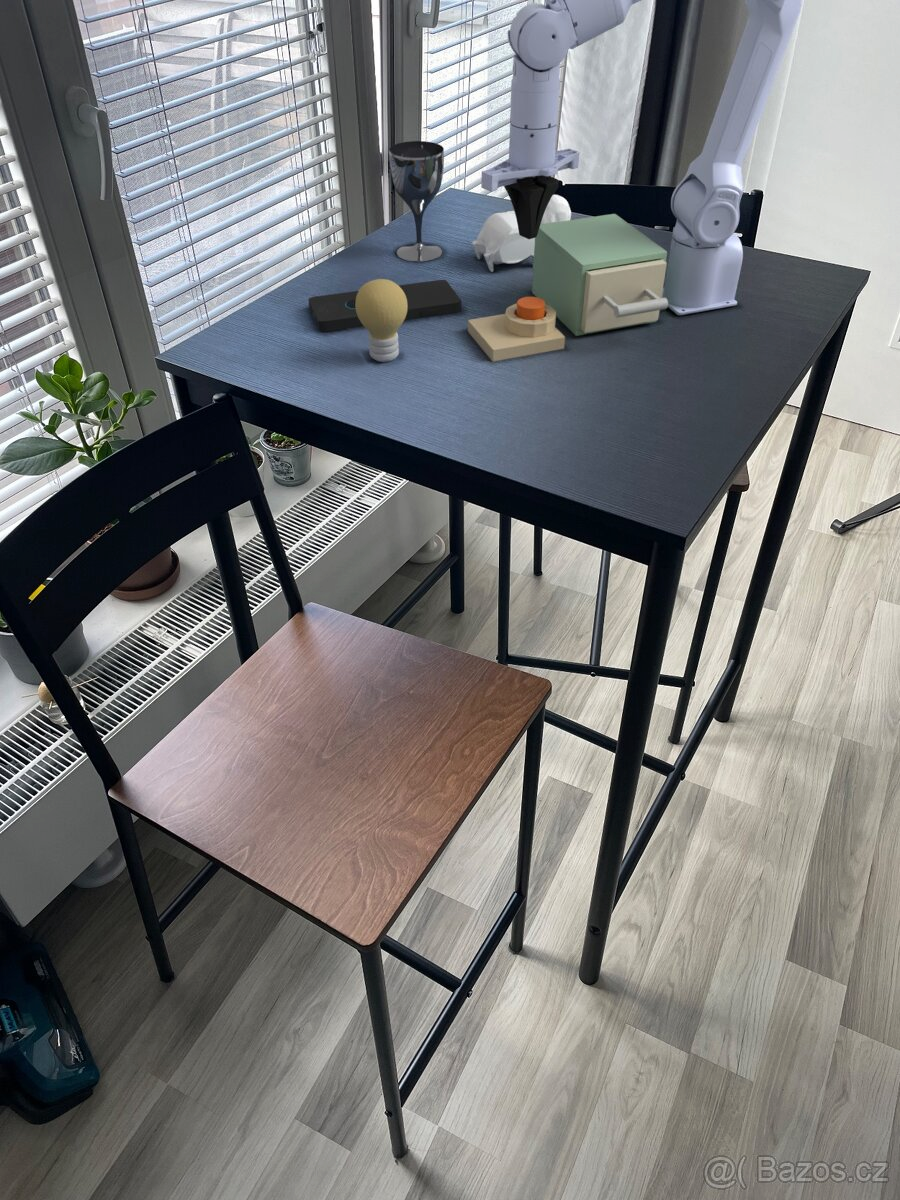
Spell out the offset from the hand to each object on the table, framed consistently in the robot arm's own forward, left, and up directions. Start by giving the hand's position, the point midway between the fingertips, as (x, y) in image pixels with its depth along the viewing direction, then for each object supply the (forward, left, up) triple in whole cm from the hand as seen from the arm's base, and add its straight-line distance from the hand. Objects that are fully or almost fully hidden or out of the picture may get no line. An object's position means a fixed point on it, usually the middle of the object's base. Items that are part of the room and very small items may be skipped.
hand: (527, 236), depth 120 cm
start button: (+2, +7, -7) cm, 11 cm away
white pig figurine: (-7, -17, -11) cm, 21 cm away
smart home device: (+18, -7, -11) cm, 22 cm away
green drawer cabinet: (-10, +2, -10) cm, 14 cm away
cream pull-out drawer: (-10, +6, -9) cm, 15 cm away
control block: (+4, +8, -10) cm, 14 cm away
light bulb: (+22, +6, -11) cm, 25 cm away
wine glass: (+7, -25, -11) cm, 28 cm away
